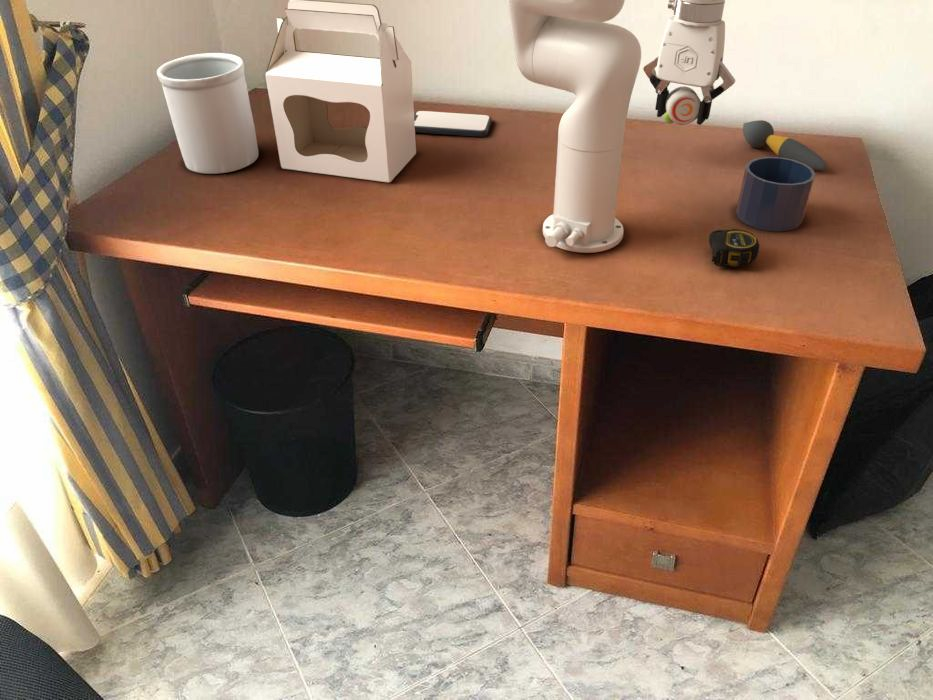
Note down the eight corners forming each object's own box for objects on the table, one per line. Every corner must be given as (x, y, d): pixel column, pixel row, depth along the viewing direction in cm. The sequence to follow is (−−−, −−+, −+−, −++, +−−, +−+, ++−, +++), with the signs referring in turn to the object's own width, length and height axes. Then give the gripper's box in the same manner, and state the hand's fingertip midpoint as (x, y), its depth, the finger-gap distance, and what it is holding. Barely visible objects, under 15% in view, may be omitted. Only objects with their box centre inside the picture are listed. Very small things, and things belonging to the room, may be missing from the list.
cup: (794, 237, 121) (807, 190, 116) (728, 222, 125) (738, 175, 120) (808, 210, 128) (821, 164, 123) (745, 196, 132) (755, 152, 127)
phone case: (492, 122, 161) (416, 117, 163) (492, 114, 160) (416, 109, 162) (486, 139, 154) (407, 133, 156) (486, 131, 153) (406, 126, 155)
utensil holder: (165, 172, 143) (139, 76, 132) (205, 140, 155) (184, 49, 144) (238, 179, 140) (218, 82, 130) (273, 146, 152) (257, 54, 141)
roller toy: (660, 116, 140) (665, 84, 137) (695, 117, 140) (701, 84, 137) (664, 125, 137) (669, 92, 134) (701, 126, 137) (707, 93, 133)
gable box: (279, 168, 144) (251, 7, 127) (312, 141, 154) (290, -12, 136) (391, 183, 138) (378, 17, 121) (417, 154, 148) (409, -4, 131)
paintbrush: (836, 169, 140) (843, 142, 137) (820, 176, 138) (827, 150, 135) (743, 135, 153) (749, 110, 150) (727, 142, 150) (732, 117, 147)
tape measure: (706, 246, 119) (710, 225, 117) (752, 250, 118) (758, 228, 116) (709, 270, 114) (713, 248, 112) (758, 274, 113) (763, 251, 111)
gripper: (640, 9, 128) (626, 116, 139) (746, 23, 121) (723, 134, 132) (656, 0, 134) (641, 103, 144) (758, 13, 127) (735, 121, 137)
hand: (681, 117), depth 138 cm, fingers closed on roller toy, 6 cm apart
